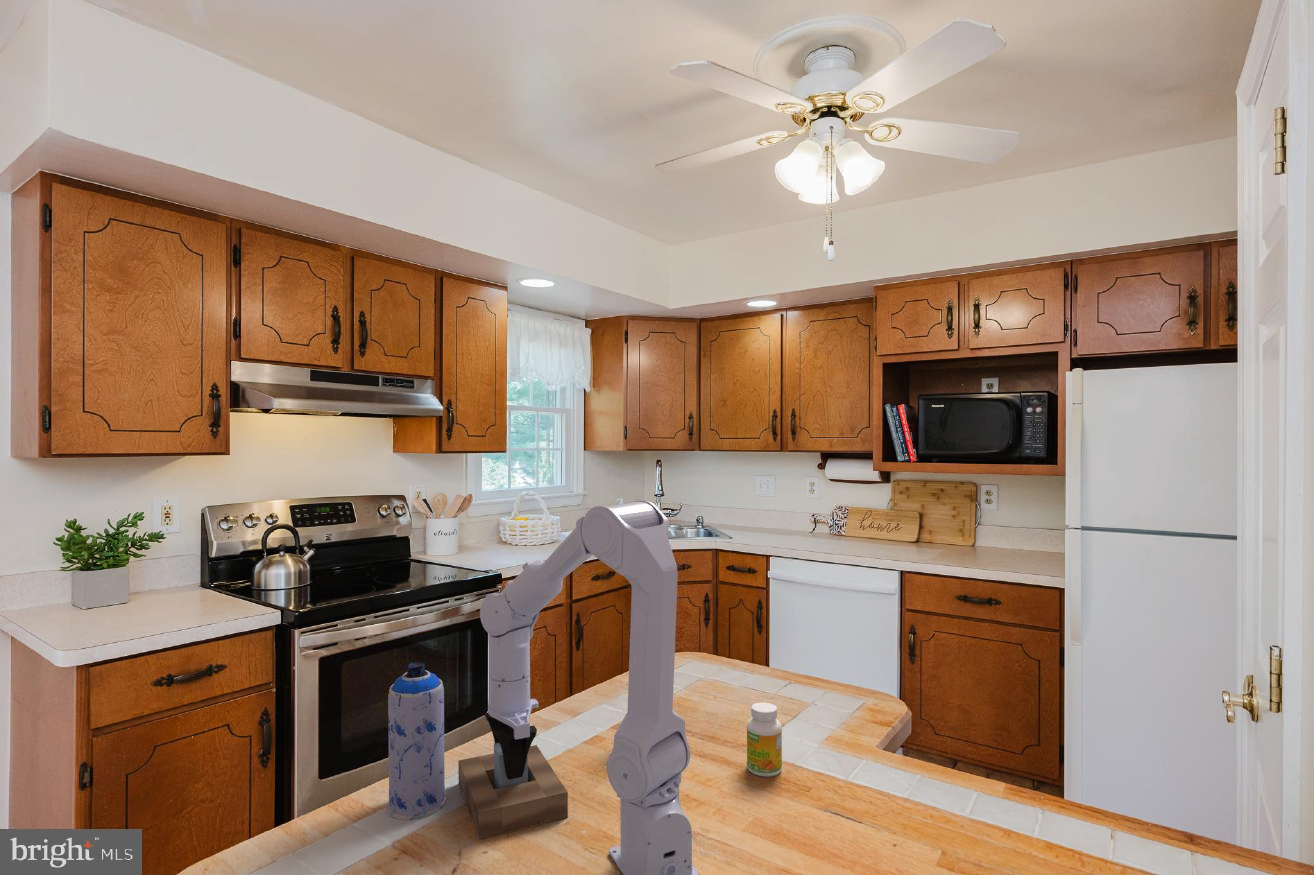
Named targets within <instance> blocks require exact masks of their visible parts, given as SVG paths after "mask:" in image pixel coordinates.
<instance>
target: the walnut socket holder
mask: <svg viewBox="0 0 1314 875" xmlns="http://www.w3.org/2000/svg"><path fill="white" fill-rule="evenodd" d="M457 764H458V767H457V768H458V774H457V775H458V785H459V788H460V791H461V793H462V796H463V800H464V802H465V805H466V808H467V810H468V813H469V815H470V818H471V821H472V823H473V826H474V829H475V832H476V835H477V837H478V840H483V839H487V838H491V837H494V836H498V835H502V834H507V833H511V832H515V831H519V830H522V829H527V828H530V827H535V826H539V825H543V824H547V823H551V822H554V821H559V820H563V819H567V818H569V814H568V813H569V807H568V806H569V805H568V804H569V800H568V799H569V798H568V796H569V792H568V790H567V789H566V787H565V786H564V784H563V783H562V781H561V779H560V778H559V777H558V775H557V774H556V772H555V771H554V769H553V767H552V766H551V765H550V763H549V762H548V759H547V758H546V757H545V756H544V754H543V752H542V751H541V750H540V748H539V747H538V745H537V744H534V745H531V746H530V748H529V751H528V782H527V783H522V784H518V785H513V786H508V787H504V788H499V789H495V790H494V752H493V753H489V754H484V755H478V756H474V757H468V758H463V759H458V761H457Z"/></svg>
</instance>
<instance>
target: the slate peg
mask: <svg viewBox="0 0 1314 875" xmlns="http://www.w3.org/2000/svg"><path fill="white" fill-rule="evenodd" d="M493 753H494V790H495V789H499V788H504V787H508V786H513V785H518V784H522V783H527V782H528V755H527V759H526V764H525V769H524V773H523V776H522V777H519V778H515V779H510V780H508V778H507V776H506V772H505V767H504V760H503V754H502V749H501V746H500V743H495V742H494V743H493Z"/></svg>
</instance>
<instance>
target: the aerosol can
mask: <svg viewBox="0 0 1314 875" xmlns="http://www.w3.org/2000/svg"><path fill="white" fill-rule="evenodd" d="M443 683H444V682H443V681H442V679H441V678H439V677H438V676H437V675H436V674H435V673H432V672H430V671H428V670H426V669H425V663H424V662H421V661H413V662H410V663H409V664H408V665H407V671H406V672H405V673H403V674H402V675H400V676H399V677H398V678H396V680H395V681H394V682H393V684H392V685H391V686H390V687H389V690H388V695H387V697H388V698H387V699H388V700H387V701H388V702H387V704H388V705H387V706H388V710H387V711H388V712H387V713H388V724H387V725H388V805H387V812H388V814H389V815H390V816H391V817H392V818H394V819H398V820H402V821H403V820H404V821H412V820H420V819H423V818H426V817H430V816H432V815H434V814H436V813H437V812H439V811H441V810H442V809H443V808H444V806H445V805H446V802H447V795H446V793H445V792H446V790H445V788H446V786H445V785H446V784H445V687H444V685H443Z"/></svg>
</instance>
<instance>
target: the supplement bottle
mask: <svg viewBox="0 0 1314 875" xmlns="http://www.w3.org/2000/svg"><path fill="white" fill-rule="evenodd" d="M750 710H751V712H750V713H751V718H749V719H748V721H747V724H746V766H747V770H748V771H749V772H750V773H752V774H753V775H756V776H758V777H759V776H760V777H774V776H777V775H779V774H780V773H781V772H782V770H783V768H782V766H783V762H782V761H783V759H782V758H783V756H782V755H783V752H782V750H783V749H782V748H783V746H782V742H783V740H782V739H783V738H782V732H783V731H782V730H783V729H782V724H781V722H780V720H778V719H777V717H778V708H777V706H776V705H775V704H773V703H770V702H756V703H754V704H752V705H751V709H750Z"/></svg>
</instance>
